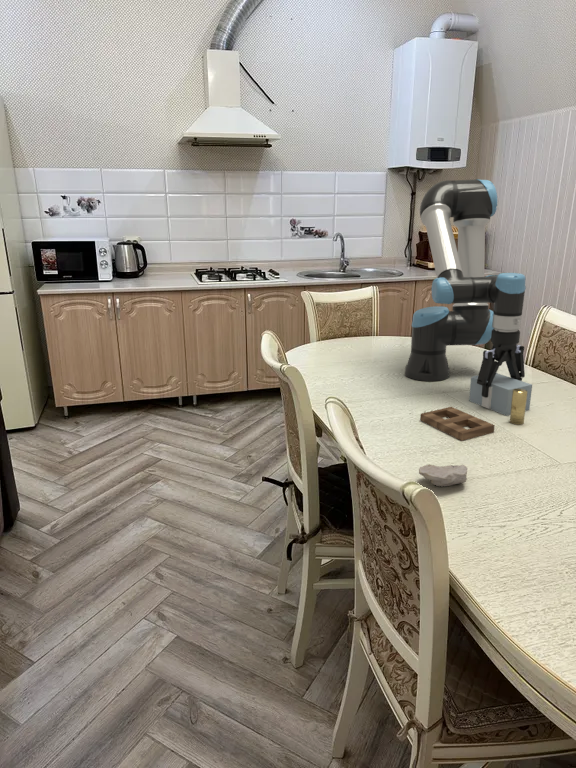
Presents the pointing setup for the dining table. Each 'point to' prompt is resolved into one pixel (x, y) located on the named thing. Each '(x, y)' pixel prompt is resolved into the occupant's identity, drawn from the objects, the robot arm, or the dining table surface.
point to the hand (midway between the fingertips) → (498, 404)
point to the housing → (500, 392)
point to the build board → (457, 423)
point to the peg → (518, 406)
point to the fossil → (444, 474)
